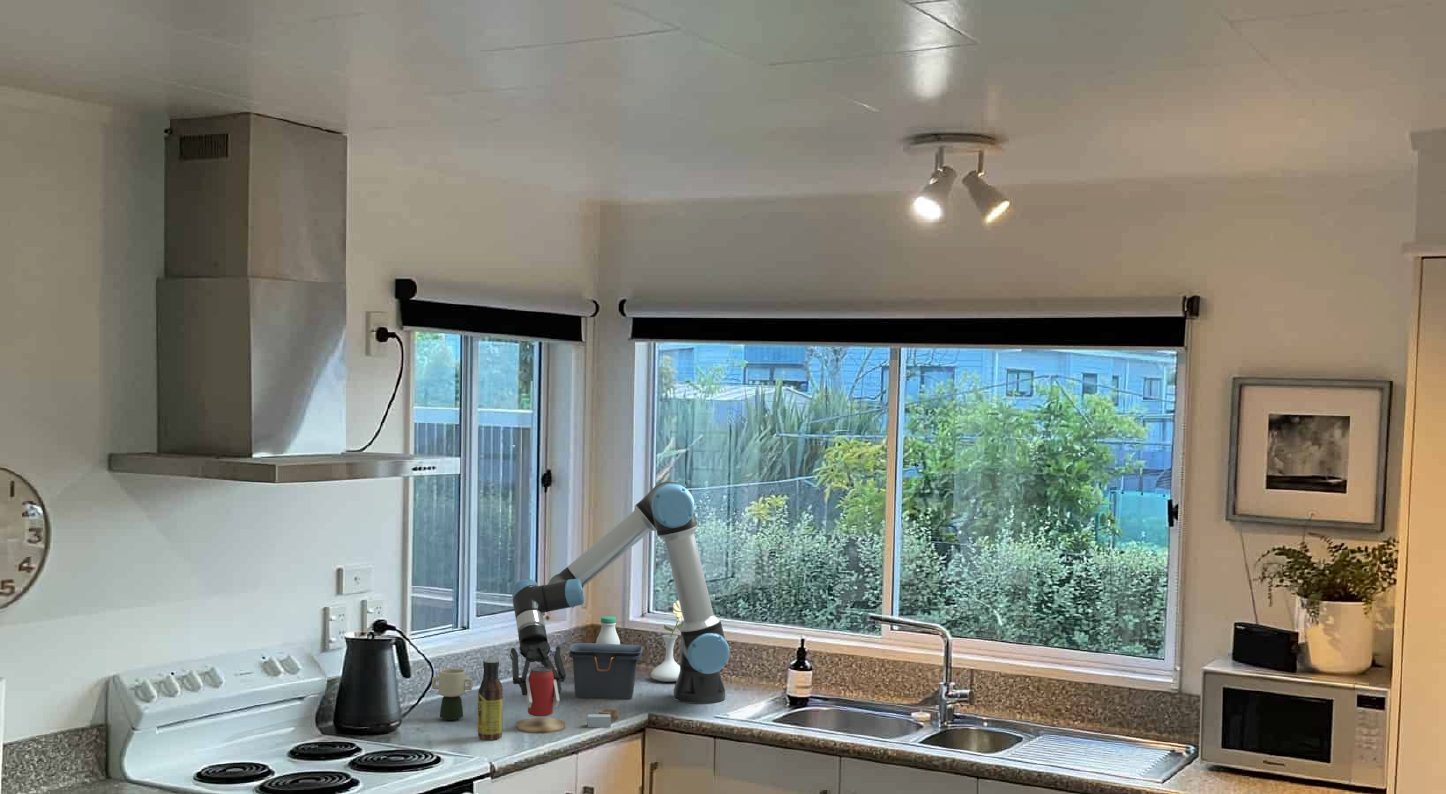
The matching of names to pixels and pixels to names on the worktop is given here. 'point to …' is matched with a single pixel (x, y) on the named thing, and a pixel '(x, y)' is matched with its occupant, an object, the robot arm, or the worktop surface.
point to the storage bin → (604, 669)
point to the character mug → (451, 691)
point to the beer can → (541, 691)
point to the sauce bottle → (490, 702)
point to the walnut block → (611, 713)
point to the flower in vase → (669, 652)
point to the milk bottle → (608, 631)
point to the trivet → (540, 725)
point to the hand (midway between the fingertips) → (543, 703)
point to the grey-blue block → (599, 720)
